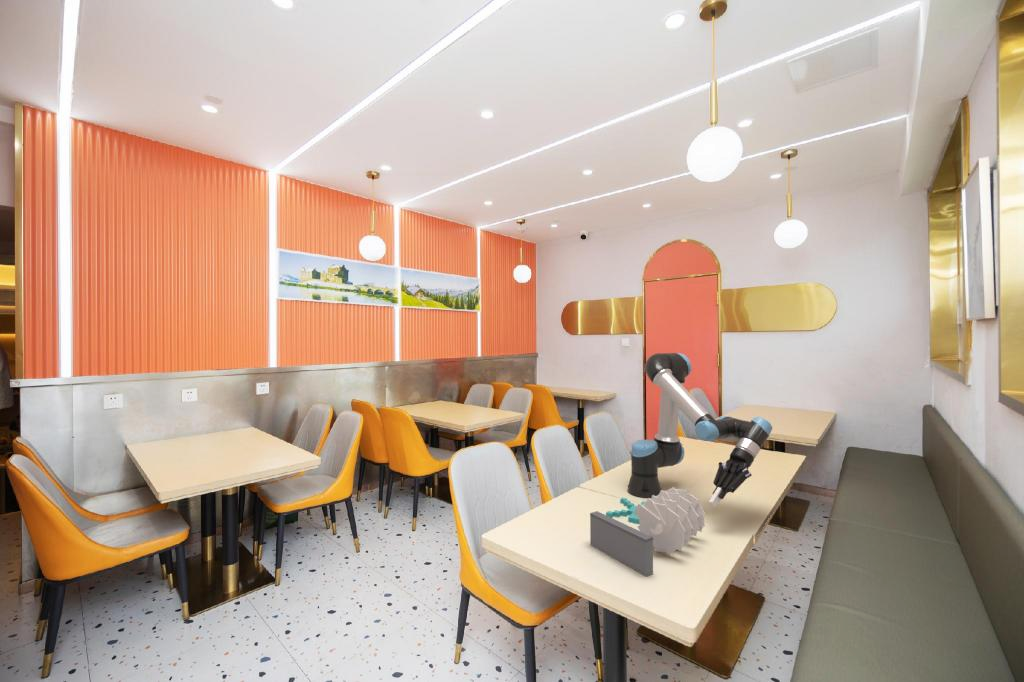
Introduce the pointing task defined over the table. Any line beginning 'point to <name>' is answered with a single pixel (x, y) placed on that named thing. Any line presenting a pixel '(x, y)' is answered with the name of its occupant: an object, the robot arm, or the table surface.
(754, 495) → the table surface
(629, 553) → the slate board
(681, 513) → the spiral staircase
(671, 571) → the table surface
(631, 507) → the alien figure
